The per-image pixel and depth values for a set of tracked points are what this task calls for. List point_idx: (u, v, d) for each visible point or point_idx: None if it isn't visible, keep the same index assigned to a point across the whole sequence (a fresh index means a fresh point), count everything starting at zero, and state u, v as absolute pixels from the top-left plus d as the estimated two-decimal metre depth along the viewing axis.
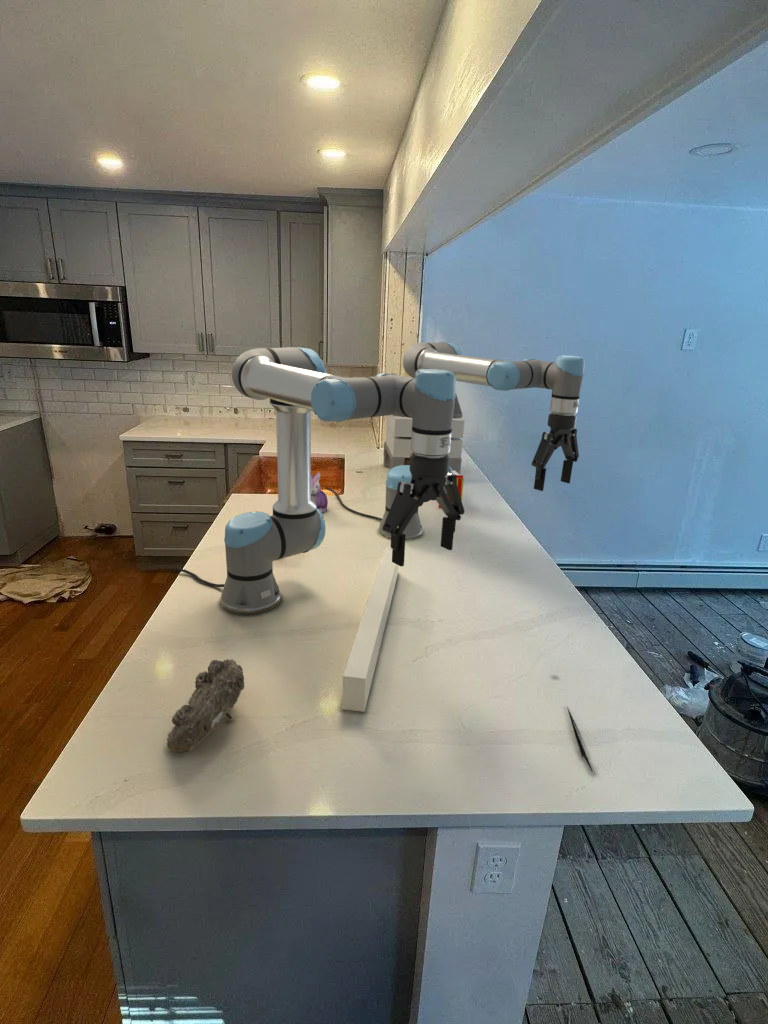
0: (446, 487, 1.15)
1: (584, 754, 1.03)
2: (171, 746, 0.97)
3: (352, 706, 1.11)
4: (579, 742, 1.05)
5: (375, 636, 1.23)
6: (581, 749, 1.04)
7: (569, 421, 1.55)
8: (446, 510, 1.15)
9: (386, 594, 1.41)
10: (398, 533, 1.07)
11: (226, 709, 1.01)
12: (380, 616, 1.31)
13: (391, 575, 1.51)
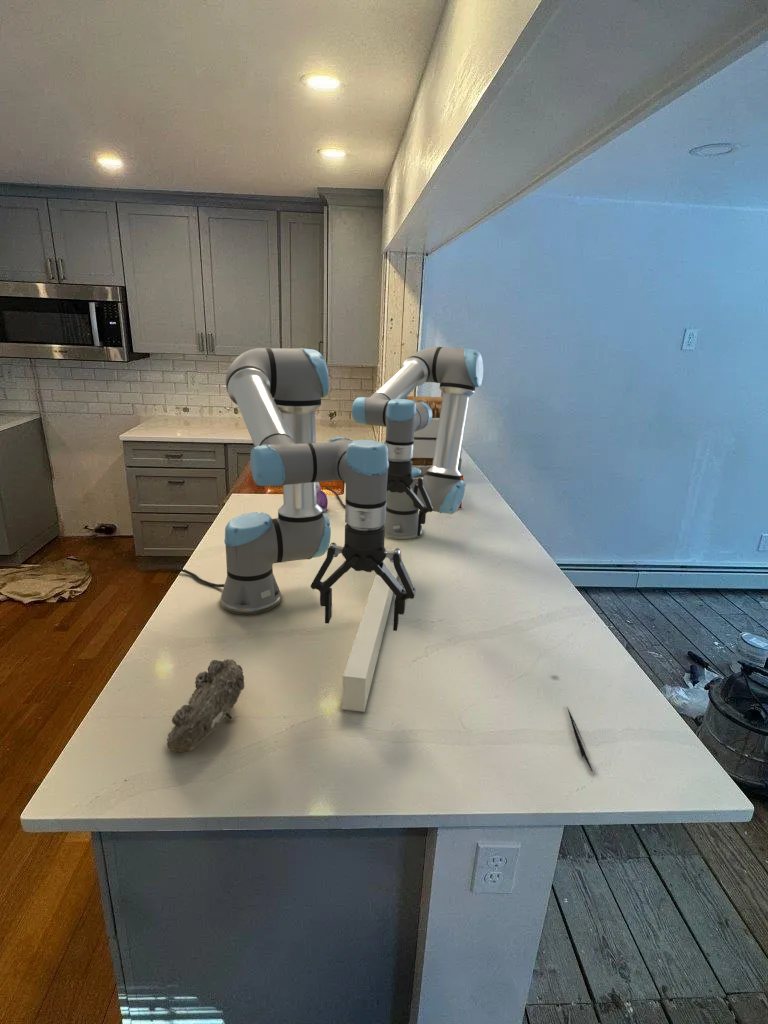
0: None
1: (584, 754, 1.03)
2: (171, 746, 0.97)
3: (352, 706, 1.11)
4: (579, 742, 1.05)
5: (375, 636, 1.23)
6: (581, 749, 1.04)
7: (390, 466, 1.49)
8: None
9: (386, 594, 1.41)
10: (320, 590, 1.10)
11: (226, 709, 1.01)
12: (380, 616, 1.31)
13: None
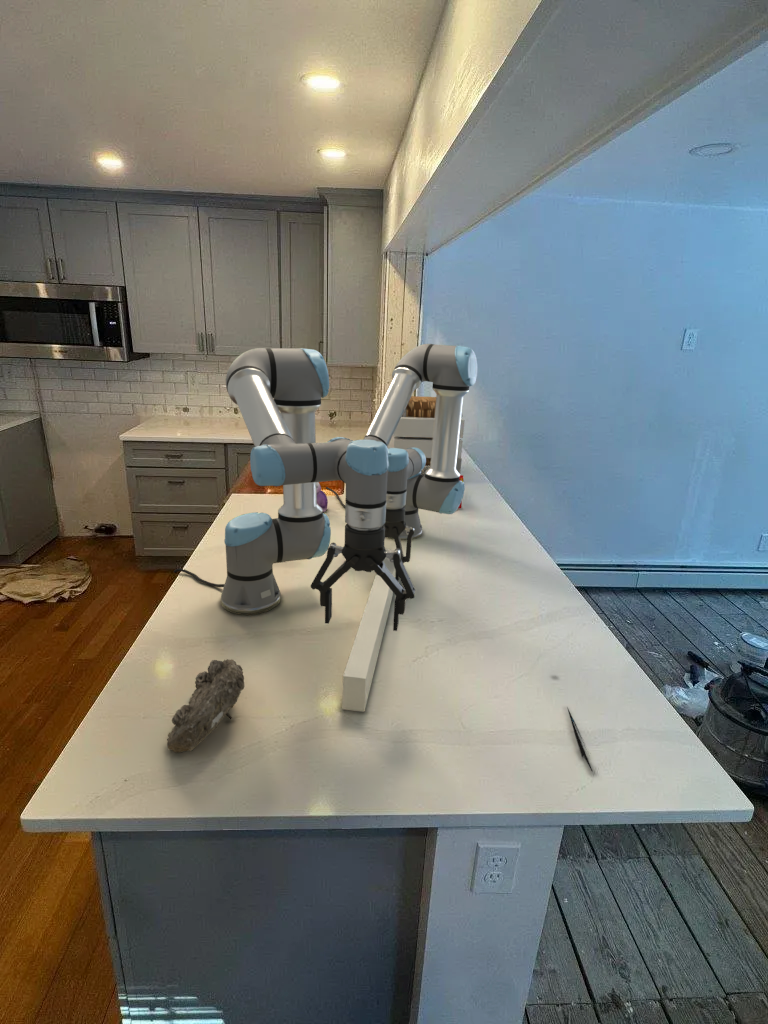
0: None
1: (584, 754, 1.03)
2: (171, 746, 0.97)
3: (352, 706, 1.11)
4: (579, 742, 1.05)
5: (375, 636, 1.23)
6: (581, 749, 1.04)
7: None
8: None
9: (386, 594, 1.41)
10: (320, 590, 1.10)
11: (226, 709, 1.01)
12: (380, 616, 1.31)
13: None
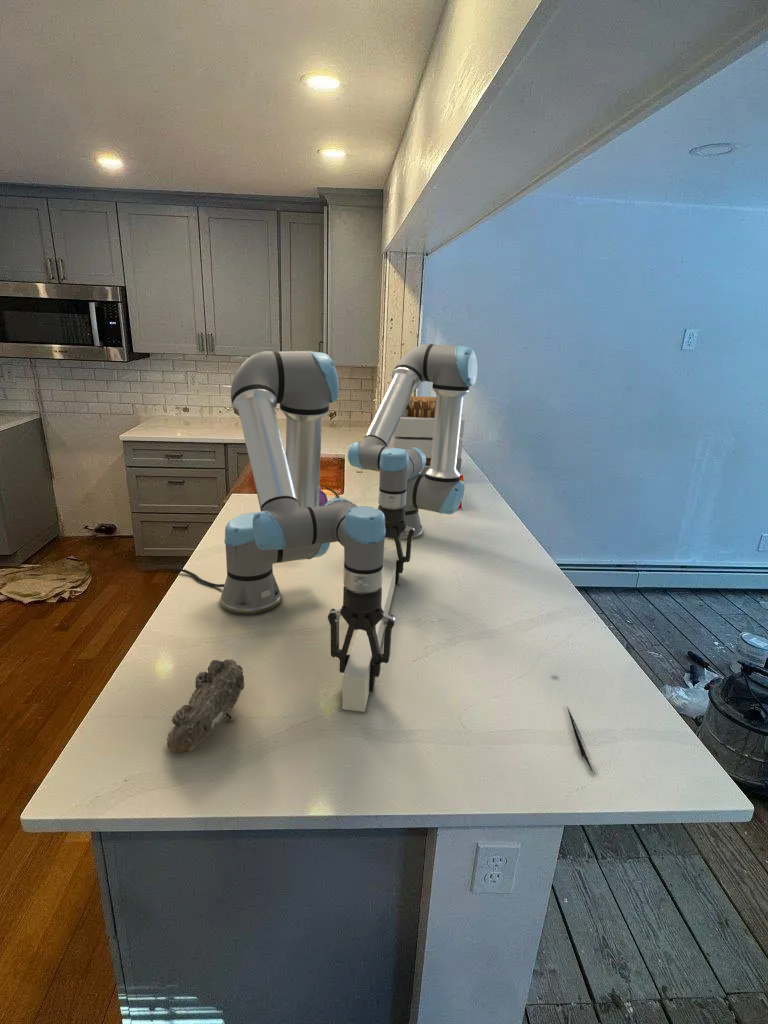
0: None
1: (584, 754, 1.03)
2: (171, 746, 0.97)
3: (352, 706, 1.11)
4: (579, 742, 1.05)
5: None
6: (581, 749, 1.04)
7: (383, 513, 1.53)
8: None
9: (386, 594, 1.41)
10: (340, 659, 1.15)
11: (226, 709, 1.01)
12: None
13: (391, 575, 1.51)
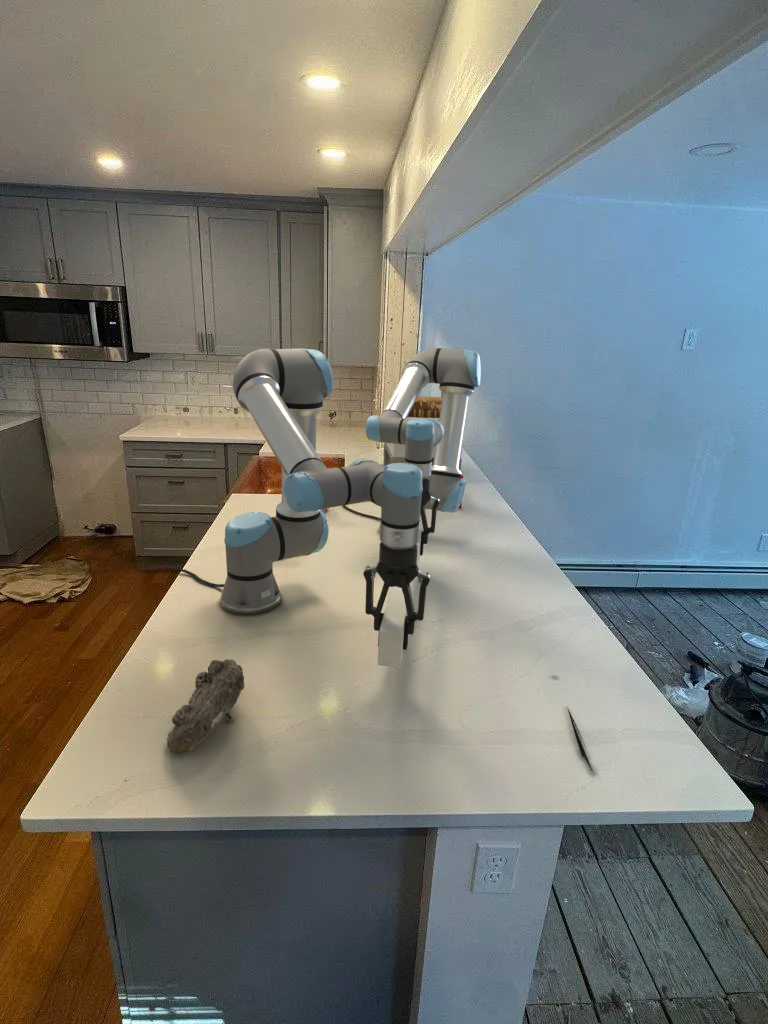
0: None
1: (584, 754, 1.03)
2: (171, 746, 0.97)
3: (388, 662, 1.12)
4: (579, 742, 1.05)
5: None
6: (581, 749, 1.04)
7: None
8: None
9: None
10: (375, 616, 1.16)
11: (226, 709, 1.01)
12: None
13: (417, 544, 1.52)
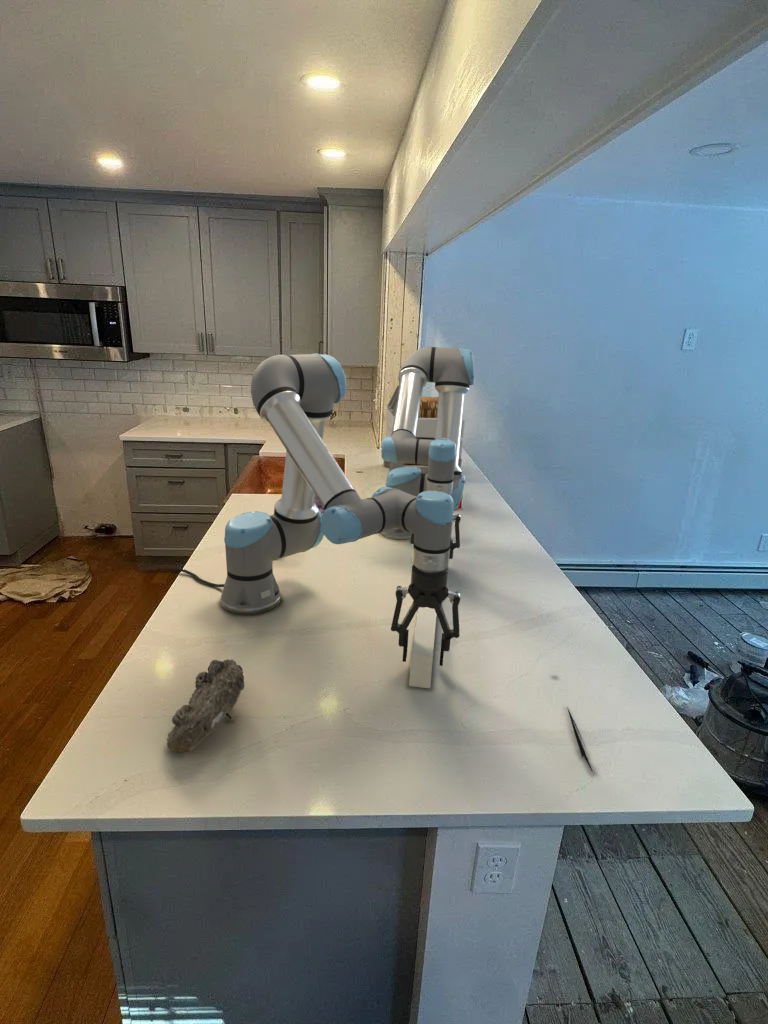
0: None
1: (584, 754, 1.03)
2: (171, 746, 0.97)
3: (419, 683, 1.19)
4: (579, 742, 1.05)
5: (434, 619, 1.30)
6: (581, 749, 1.04)
7: None
8: None
9: None
10: (400, 633, 1.22)
11: (226, 709, 1.01)
12: None
13: None
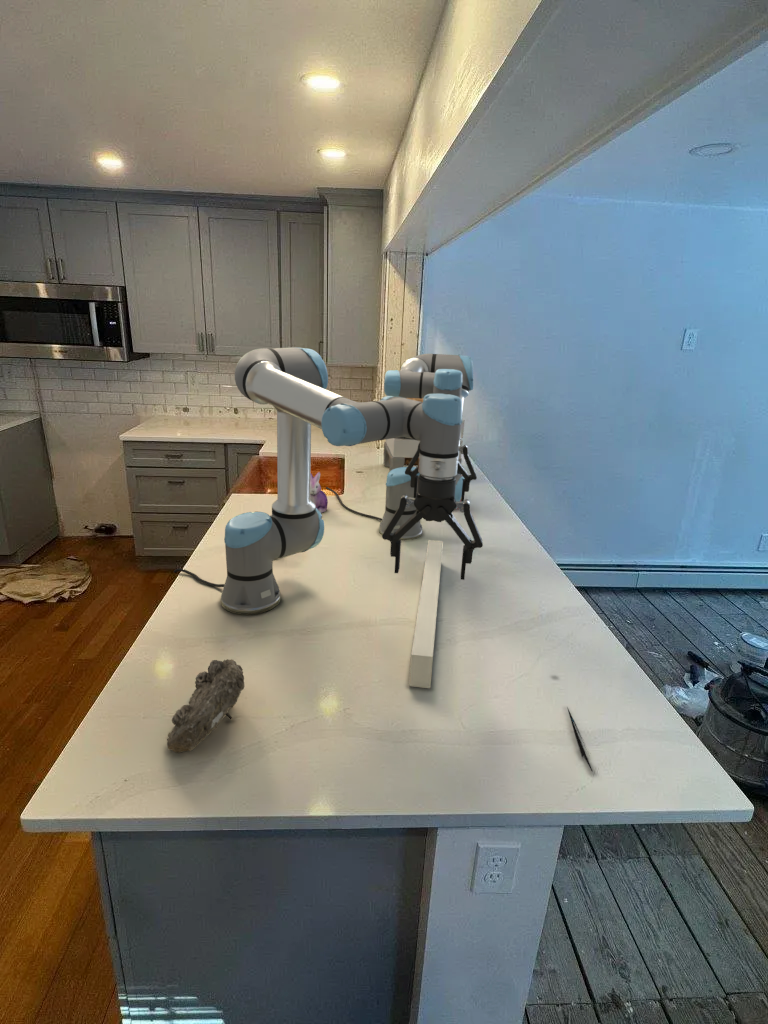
0: None
1: (584, 754, 1.03)
2: (171, 746, 0.97)
3: (419, 683, 1.19)
4: (579, 742, 1.05)
5: (434, 619, 1.30)
6: (581, 749, 1.04)
7: None
8: None
9: (438, 581, 1.49)
10: (391, 540, 1.15)
11: (226, 709, 1.01)
12: (436, 601, 1.38)
13: (439, 564, 1.59)
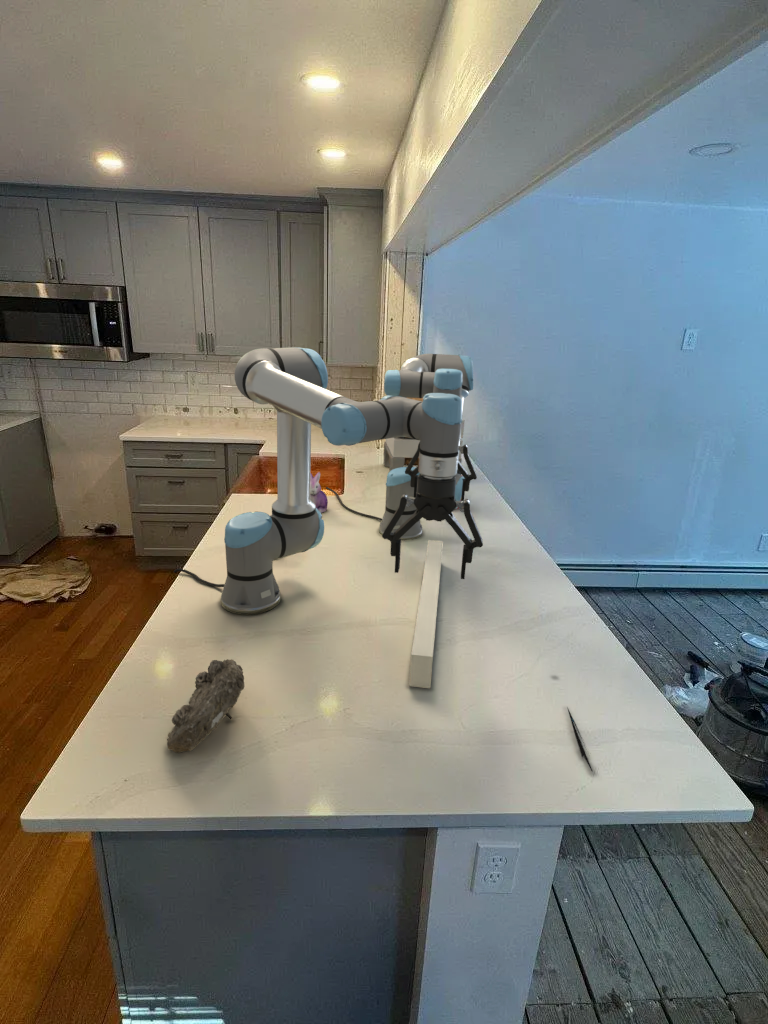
0: None
1: (584, 754, 1.03)
2: (171, 746, 0.97)
3: (419, 683, 1.19)
4: (579, 742, 1.05)
5: (434, 619, 1.30)
6: (581, 749, 1.04)
7: None
8: None
9: (438, 581, 1.49)
10: (391, 540, 1.15)
11: (226, 709, 1.01)
12: (436, 601, 1.38)
13: (439, 564, 1.59)
